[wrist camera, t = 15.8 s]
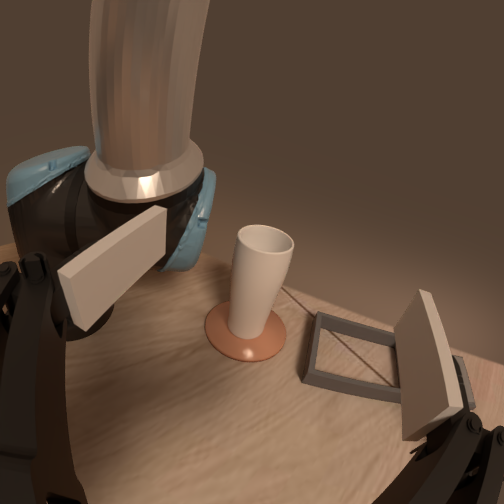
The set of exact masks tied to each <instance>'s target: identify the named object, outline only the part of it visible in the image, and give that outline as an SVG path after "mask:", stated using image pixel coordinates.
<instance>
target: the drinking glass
mask: <svg viewBox="0 0 504 504" xmlns="http://www.w3.org/2000/svg"><path fill="white" fill-rule="evenodd" d="M293 248H294V242H293V240H292V239H291V237H290V236H289V235H287V234H286V233H285V232H283V231H281V230H279V229H276V228H273V227H270V226H264V225H249V226H245V227H243V228H241V229H240V230H239V231H238V234H237V238H236V242H235V247H234V253H233V259H232V269H231V285H230V303H229V315H228V322H227V324H228V328H229V330H230V332H231V333H232V334H233V335H235V336H236V337H238V338H241V339H254V338H257V337H258V336H260V335H261V334H262V332H263V330H264V327H265V324H266V321H267V319H268V317H269V314H270V312H271V310H272V307H273V305H274V303H275V300H276V298H277V296H278V293H279V291H280V289H281V287H282V284H283V282H284V279H285V276H286V274H287V271H288V268H289V264H290V261H291V257H292V253H293Z"/></svg>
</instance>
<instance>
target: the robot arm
mask: <svg viewBox="0 0 504 504" xmlns="http://www.w3.org/2000/svg"><path fill="white" fill-rule="evenodd" d="M209 2H210V0H92V6H91V18H90V36H89V81H90V97H91V111H92V121H93V130H94V138H95V145H96V150H95V151H94V152H93V154H92V155H91V154H90V150H89V148H88V147H83V146H75V147H69V148H64V149H59V150H55V151H52V152H48V153H45V154H42V155H39V156H36V157H34V158H31V159H29V160H27V161H24V162H23V163H21V164H19V165H17V166H16V167H14V168H13V169H12V170H11V171H10V173H9V175H8V177H7V181H6V190H7V201H8V202H7V207H8V212H9V217H10V222H11V227H12V231H13V235H14V239H15V243H16V247H17V251H18V254H19V258H20V260H19V262H18V263H19V266H20V269H21V272H22V273H19V271H18V268H17V265H16V263H15V262H12V261H9V262H4V263H2V264H1V265H0V504H47V503H46V501H47V502H48V504H88V503H87V499H86V496H85V492H84V489H83V487H82V485H81V484H80V482H79V480H78V479H77V477H76V475H75V471H74V466H73V461H72V455H71V449H70V442H69V434H68V424H67V413H66V396H65V349H66V341H73V340H78V339H81V338H84V337H87V336H89V335H91V334H92V333H94V332H96V331H97V330H98V329H100V328H101V327H102V326H103V325H104V324H105V323H106V321H107V320H108V319H109V317H110V315H111V313H112V311H113V307H114V302H116V301H117V300H118V299H119V298H120V297H121V296H122V295H123V294H124V293H125V292H126V291H127V290H128V289H129V288H130V287H131V286H132V285H133V284H134V283H135V282H136V281H137V280H138V279H139V278H140V277H141V276H142V275H143V274H144V273H146V272H147V271H148V270H149V269H151V270H157V271H159V272H164V271H178V272H184V271H188V270H190V269H192V268H193V267H194V266H195V264H196V263H197V261H198V258H199V256H200V252H201V249H202V246H203V241H204V238H205V234H206V229H207V222H208V220H209V215H210V212H211V208H212V203H213V197H214V192H215V185H216V174H215V173H214V172H213V171H211V170H208V169H207V168H206V167H204V168H203V162H204V161H203V155H202V152H201V150H200V148H199V147H198V146H197V145H196V144H195V143H194V142H193V141H192V140H190V139H189V136H190V125H191V115H192V107H193V98H194V90H195V83H196V75H197V68H198V62H199V55H200V48H201V43H202V37H203V31H204V27H205V21H206V16H207V11H208V6H209ZM4 305H6V307H7V310H8V311H7V313H6V314H4V312H3V310H2V308H3V306H4ZM393 329H394V335H395V342H396V350H397V358H398V367H399V377H400V389H401V406H402V441H418V440H420V439H421V438H423V437H424V436H427V442H425V443H423V444H422V445H420V446H419V447H417V448H415V449H414V450H412V451H411V452H410V454H412V453H414V452H416V451H417V452H416V453H415V455H414V456H413V457H412V459H411V460H410V461H409V463H408V464H407V465H406V466H405V468H404V469H403V470H402V471H401V472H400V474H399V475H398V476H397V477H396V478H395V479H394V481H393V482H392V483H391V484H390V485H389V486H388V487H387V488H386V489H385V490H384V492H383V493H382V494H381V495H380V496H379V497H378V498H377V499H376V500H375V501H374V502H373V503H372V504H496V503H497V500H498V497H499V493H500V489H501V485H502V481H503V477H504V427H503V426H497V427H496V428H495V429H493V430H492V431H488V430H486V429H484V428H483V427H482V422H481V420H480V418H479V417H478V415H476V414H475V413H473V412H470V409H469V404H468V399H467V394H466V389H465V385H463V384H464V381H463V377H462V373H461V369H460V365H459V364H458V362H457V360H456V358H455V357H454V356H452V355H451V352H450V348H449V345H448V342H447V338H446V335H445V332H444V329H443V326H442V323H441V320H440V317H439V315H438V312H437V309H436V306H435V304H434V301H433V298H432V296H431V293H429V292H426V291H423V290H420V289H419V290H418V291H417V293H416V295H415V296H414V298H413V300H412V301H411V303H410V304H409V306H408V308H407V309H406V311H405V312H404V314H403V315H402V317H401V318H400V320H399V321H398V323H397V324H396V326H395V327H394V328H393ZM477 468H479V469H478V473H477V474H475V475H473V476H472V471H473V470H475V469H477Z"/></svg>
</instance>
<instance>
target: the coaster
mask: <svg viewBox="0 0 504 504" xmlns="http://www.w3.org/2000/svg"><path fill="white" fill-rule="evenodd" d="M229 303H230V301H227V302H223V303H221V304H219V305H217V306H216V307H214V308H213V309H212V310H211V311H210V312H209V314H208V316H207V318H206V324H205V331H206V335H207V338H208V340H209V341H210V343H211V344H212V345H213V347H214V348H215V349H216V350H218V351H219V352H220V353H222V354H223V355H225V356H227V357H229V358H231V359H234V360H238V361H242V362H259V361H264V360H267V359H269V358H271V357H273V356H275V355H276V354H277V353H278V352H279V351H280V350H281V349H282V347H283V345H284V342H285V340H286V329H285V326H284V324H283V322H282V320H281V319H280V317H279V316H278V315H277V314H276V313H275V312H274V311H272V310H271V312H270V314H269V317H268V319H267V321H266V324H265V327H264V330H263V332H262V334H261V335H260V336H258V337H257V338H254V339H241V338H238V337H236V336H235V335H233V334H232V333H231V332H230V330H229V328H228V324H227V322H228V315H229Z"/></svg>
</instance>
